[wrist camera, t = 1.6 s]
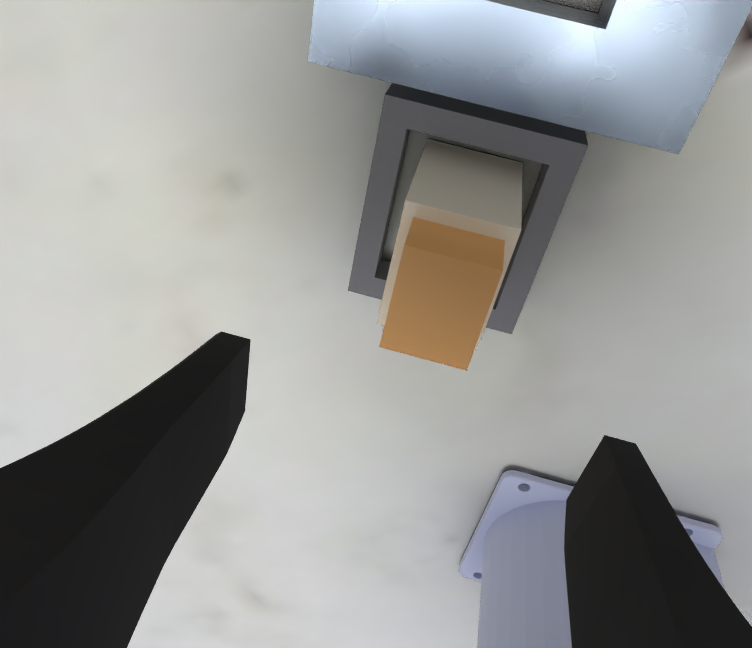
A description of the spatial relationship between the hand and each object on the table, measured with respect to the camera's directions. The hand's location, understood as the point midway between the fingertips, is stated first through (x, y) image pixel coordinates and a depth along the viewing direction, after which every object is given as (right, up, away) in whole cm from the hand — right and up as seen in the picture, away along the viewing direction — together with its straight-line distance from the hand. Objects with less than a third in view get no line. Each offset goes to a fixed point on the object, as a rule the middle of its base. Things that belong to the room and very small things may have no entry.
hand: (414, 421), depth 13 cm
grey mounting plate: (+2, +6, +8) cm, 10 cm away
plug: (+2, +6, +8) cm, 10 cm away
